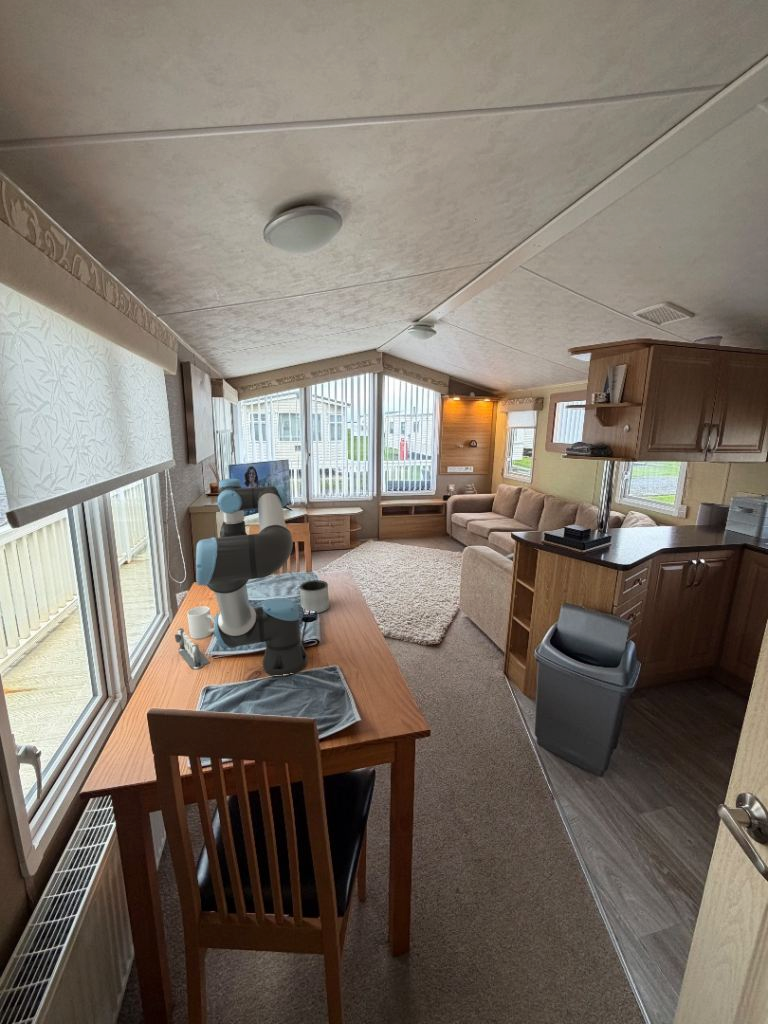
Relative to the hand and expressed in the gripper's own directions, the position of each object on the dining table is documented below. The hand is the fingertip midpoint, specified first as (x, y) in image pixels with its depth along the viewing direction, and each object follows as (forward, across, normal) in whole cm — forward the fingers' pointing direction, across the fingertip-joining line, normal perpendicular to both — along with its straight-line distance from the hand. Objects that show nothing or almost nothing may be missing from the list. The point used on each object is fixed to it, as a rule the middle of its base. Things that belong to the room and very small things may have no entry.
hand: (240, 581), depth 159 cm
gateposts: (+24, +17, +11) cm, 32 cm away
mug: (+25, +18, -5) cm, 31 cm away
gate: (+24, +17, +11) cm, 31 cm away
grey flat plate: (+24, +16, +11) cm, 31 cm away
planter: (+25, -23, -27) cm, 43 cm away
